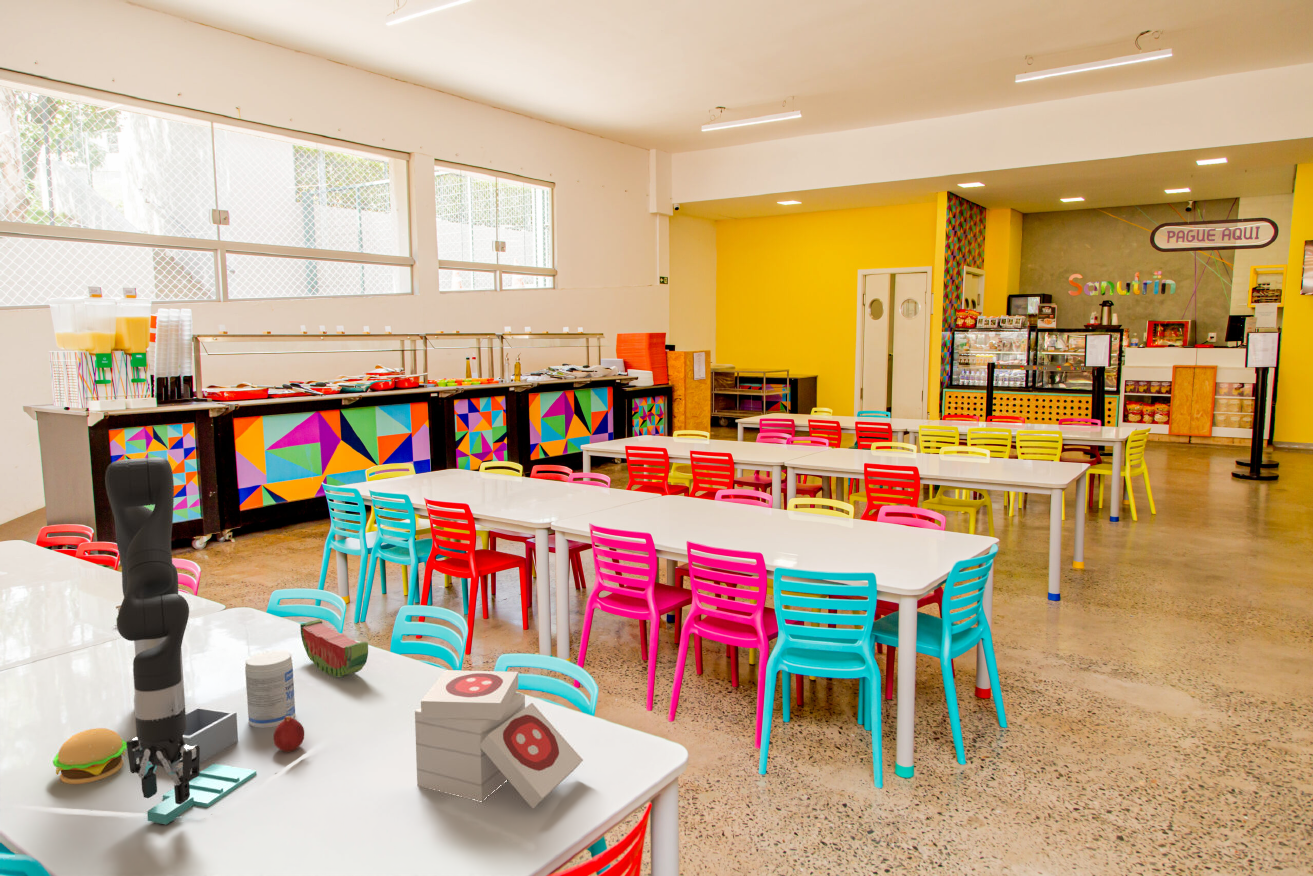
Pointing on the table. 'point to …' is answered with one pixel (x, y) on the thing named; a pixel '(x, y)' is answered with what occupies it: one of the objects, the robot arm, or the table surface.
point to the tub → (210, 730)
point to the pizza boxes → (487, 739)
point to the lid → (201, 791)
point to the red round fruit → (289, 734)
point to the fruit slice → (333, 649)
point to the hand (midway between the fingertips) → (166, 798)
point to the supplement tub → (269, 688)
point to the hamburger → (90, 756)
